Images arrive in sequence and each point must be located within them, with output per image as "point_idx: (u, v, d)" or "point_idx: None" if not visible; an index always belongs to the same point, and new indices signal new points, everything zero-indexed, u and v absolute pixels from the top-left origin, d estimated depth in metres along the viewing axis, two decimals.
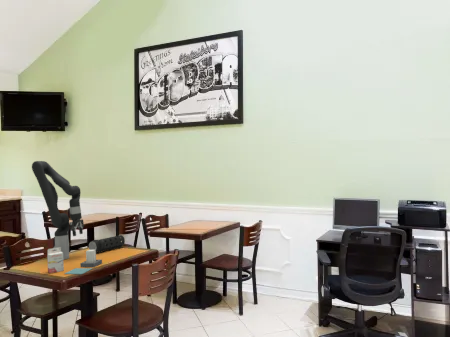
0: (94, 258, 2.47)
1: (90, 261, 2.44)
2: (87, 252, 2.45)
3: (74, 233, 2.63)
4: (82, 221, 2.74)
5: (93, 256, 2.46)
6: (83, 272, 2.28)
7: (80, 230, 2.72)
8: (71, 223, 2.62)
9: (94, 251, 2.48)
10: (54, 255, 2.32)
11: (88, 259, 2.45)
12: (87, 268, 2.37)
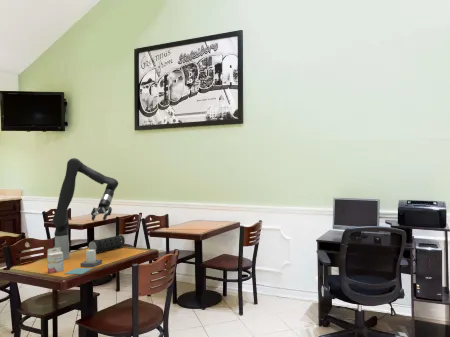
0: (94, 258, 2.47)
1: (90, 261, 2.44)
2: (87, 252, 2.45)
3: (106, 217, 2.59)
4: None
5: (93, 256, 2.46)
6: (83, 272, 2.28)
7: (94, 216, 2.61)
8: (111, 209, 2.64)
9: (94, 251, 2.48)
10: (54, 255, 2.32)
11: (88, 259, 2.45)
12: (87, 268, 2.37)
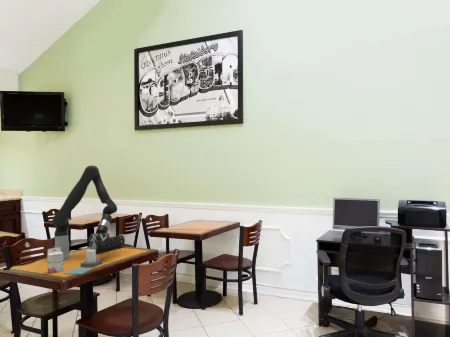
0: (94, 258, 2.47)
1: (90, 261, 2.44)
2: (87, 252, 2.45)
3: (103, 244, 2.54)
4: None
5: (93, 256, 2.46)
6: (83, 272, 2.28)
7: (91, 243, 2.55)
8: (109, 235, 2.59)
9: (94, 251, 2.48)
10: (54, 255, 2.32)
11: (88, 259, 2.45)
12: (87, 268, 2.37)
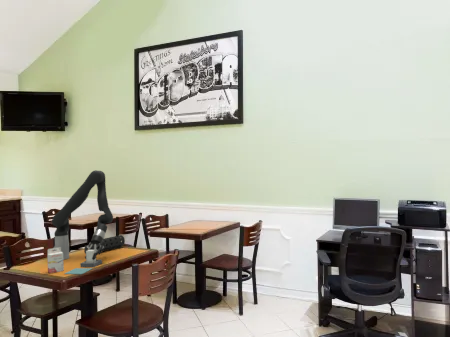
0: None
1: (90, 261, 2.44)
2: (87, 252, 2.45)
3: (95, 257, 2.46)
4: (87, 248, 2.53)
5: None
6: (83, 272, 2.28)
7: None
8: (103, 247, 2.50)
9: (94, 251, 2.48)
10: (54, 255, 2.32)
11: (88, 259, 2.45)
12: (87, 268, 2.37)
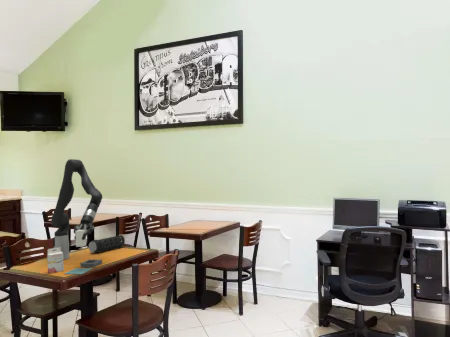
0: None
1: (80, 241, 2.33)
2: (77, 232, 2.33)
3: (85, 237, 2.35)
4: None
5: None
6: (83, 272, 2.28)
7: None
8: (93, 227, 2.39)
9: (84, 231, 2.36)
10: (54, 255, 2.32)
11: (77, 239, 2.33)
12: (87, 268, 2.37)
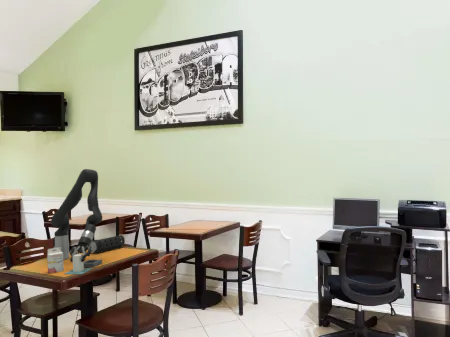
0: (81, 263, 2.32)
1: (77, 267, 2.30)
2: (74, 257, 2.30)
3: (84, 259, 2.32)
4: None
5: (80, 261, 2.31)
6: (83, 272, 2.28)
7: None
8: (91, 248, 2.36)
9: (82, 255, 2.33)
10: (54, 255, 2.32)
11: (75, 264, 2.30)
12: (87, 268, 2.37)
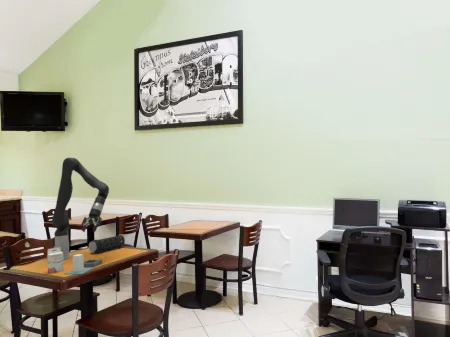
0: (81, 263, 2.32)
1: (77, 267, 2.30)
2: (74, 257, 2.30)
3: None
4: None
5: (80, 261, 2.31)
6: (83, 272, 2.28)
7: (84, 227, 2.53)
8: (101, 219, 2.54)
9: (82, 255, 2.33)
10: (54, 255, 2.32)
11: (75, 264, 2.30)
12: (87, 268, 2.37)
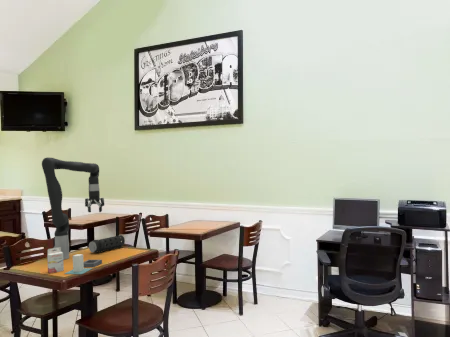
0: (81, 263, 2.32)
1: (77, 267, 2.30)
2: (74, 257, 2.30)
3: (101, 209, 2.71)
4: None
5: (80, 261, 2.31)
6: (83, 272, 2.28)
7: (89, 208, 2.72)
8: (103, 199, 2.70)
9: (82, 255, 2.33)
10: (54, 255, 2.32)
11: (75, 264, 2.30)
12: (87, 268, 2.37)
